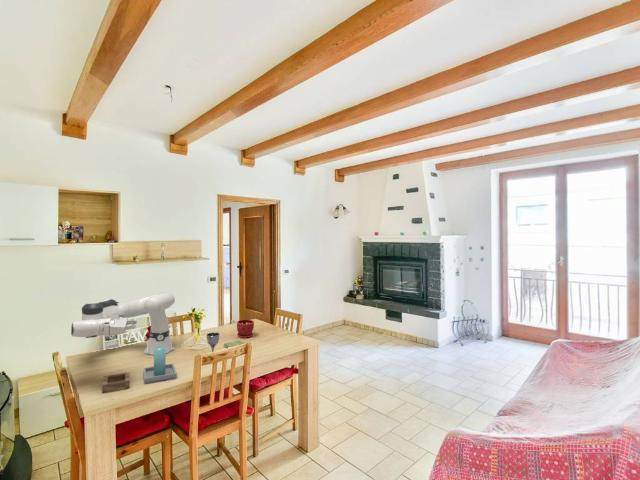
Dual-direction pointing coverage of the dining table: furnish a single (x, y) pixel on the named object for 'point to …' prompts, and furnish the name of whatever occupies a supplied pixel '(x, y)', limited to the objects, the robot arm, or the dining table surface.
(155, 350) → the pillar candle
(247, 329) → the plant pot
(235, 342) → the washcloth
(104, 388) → the cup holder
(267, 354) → the dining table surface
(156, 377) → the tray
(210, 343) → the wine glass
